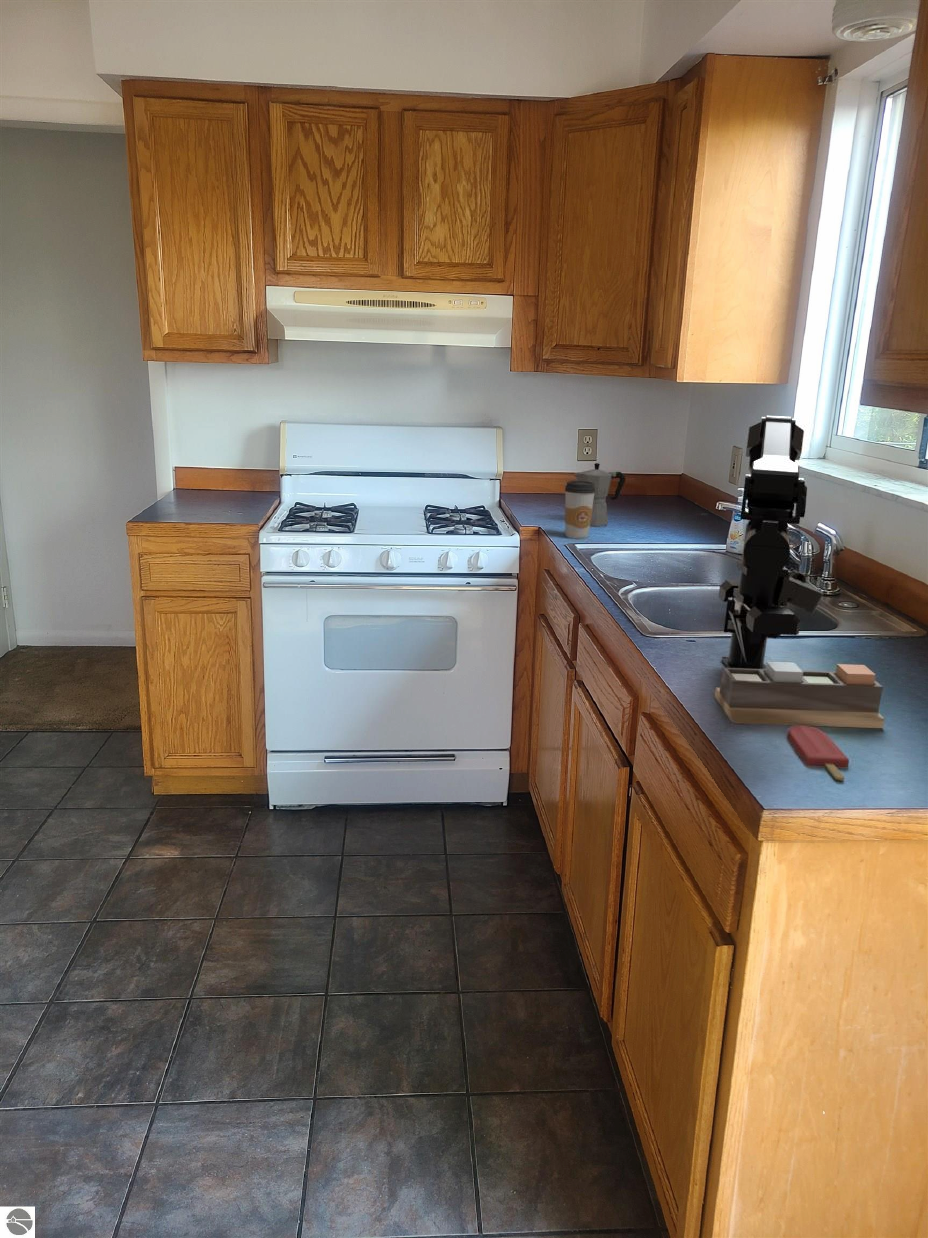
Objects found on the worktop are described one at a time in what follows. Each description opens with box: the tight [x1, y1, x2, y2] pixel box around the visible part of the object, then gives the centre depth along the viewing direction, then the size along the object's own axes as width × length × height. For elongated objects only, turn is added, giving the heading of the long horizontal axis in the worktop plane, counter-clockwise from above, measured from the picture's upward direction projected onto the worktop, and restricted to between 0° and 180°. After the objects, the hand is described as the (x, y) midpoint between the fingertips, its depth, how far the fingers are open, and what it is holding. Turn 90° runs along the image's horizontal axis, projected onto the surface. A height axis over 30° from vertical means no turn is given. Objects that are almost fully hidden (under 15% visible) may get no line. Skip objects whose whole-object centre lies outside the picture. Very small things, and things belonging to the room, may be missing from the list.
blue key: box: [765, 661, 803, 683], centre depth 132 cm, size 4×4×3 cm
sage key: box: [803, 676, 834, 684], centre depth 132 cm, size 4×4×3 cm
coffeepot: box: [573, 462, 626, 528], centre depth 266 cm, size 15×9×18 cm, turn 95°
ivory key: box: [731, 673, 762, 681], centre depth 132 cm, size 4×4×3 cm
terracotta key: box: [835, 663, 877, 685], centre depth 132 cm, size 4×4×3 cm
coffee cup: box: [564, 480, 595, 540], centre depth 248 cm, size 8×8×15 cm
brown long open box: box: [714, 667, 885, 729], centre depth 132 cm, size 10×21×6 cm, turn 89°
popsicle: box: [786, 725, 850, 781], centre depth 119 cm, size 5×2×15 cm
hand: (749, 662), depth 131 cm, fingers closed
